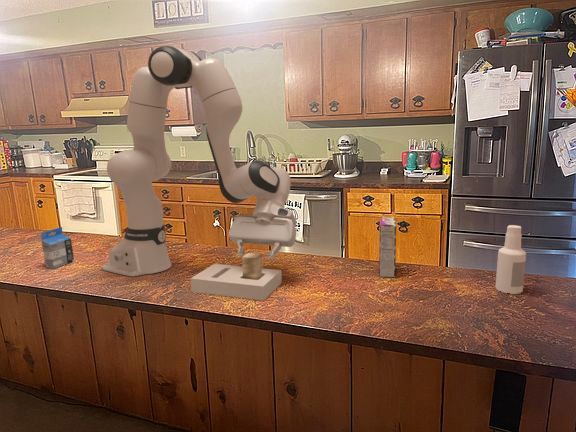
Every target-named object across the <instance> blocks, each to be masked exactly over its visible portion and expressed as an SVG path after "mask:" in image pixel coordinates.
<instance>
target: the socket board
mask: <svg viewBox="0 0 576 432" xmlns="http://www.w3.org/2000/svg"><path fill="white" fill-rule="evenodd" d="M261 268H262V277H261V278H260V279H259V280H253V279H244V278H243V267H242V265H232V264H231V265H230V264H221V263H213V264H212V265H210V266H208V267H207V268H205V269H204V270H202V271H200V272H199V273H197V274H195V275H194V276H192V277H190V290H191V291H190V292H191V293H199V294H206V295H212V296H221V297H222V296H223V297H230V298H231V297H232V298H238V299H247V300H248V299H249V300H256V301H261V302H263V301H265V300H266V299H267V298H268V297H270V295H271V294H272V293H273V292H274V291H275V290H276V289H277V288H279V287H280V286H281V284H282V283H283V281H282V269H272V268H263V267H261Z"/></svg>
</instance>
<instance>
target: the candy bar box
mask: <svg viewBox="0 0 576 432" xmlns="http://www.w3.org/2000/svg"><path fill="white" fill-rule="evenodd" d="M378 236H379V240H378V244H379V245H378V263H379V264H378V268H379V269H378V273H379V278H392V277H394V278H396V261H397V260H396V257H397V256H396V255H397V253H396V252H397V244H396V243H397V220H396V217H392V216H390V217H388V216H387V217H384V216H382V217H379V234H378Z"/></svg>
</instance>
